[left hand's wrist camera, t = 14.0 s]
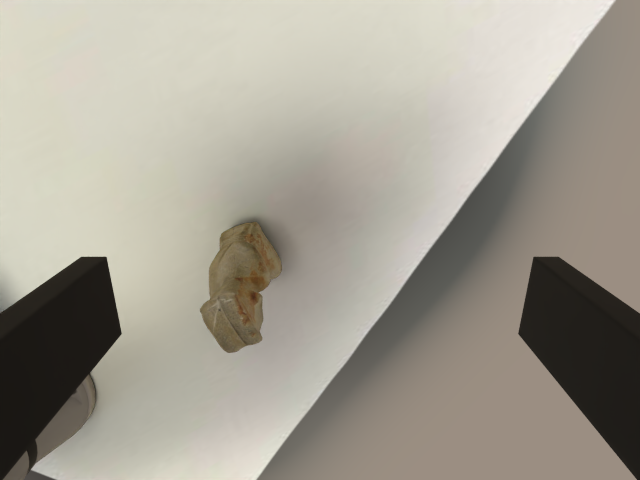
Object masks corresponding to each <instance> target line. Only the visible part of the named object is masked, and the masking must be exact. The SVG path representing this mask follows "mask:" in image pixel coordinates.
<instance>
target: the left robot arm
mask: <svg viewBox="0 0 640 480" xmlns="http://www.w3.org/2000/svg"><path fill="white" fill-rule="evenodd" d="M121 334H122V333H121V328H120V323H119V318H118V313H117V308H116V303H115V298H114V293H113V288H112V283H111V278H110V272H109V267H108V262H107V257H81V258H79V259H78V260H76V261H75V262H73V263H72V264H71V265H69V266H68V267H66V268H65V269H63V270H62V271H61V272H59V273H58V274H56V275H55V276H53V277H52V278H50V279H49V280H48V281H46V282H45V283H43V284H42V285H40V286H39V287H38V288H36V289H35V290H33V291H32V292H30V293H29V294H28V295H26V296H25V297H23V298H22V299H20V300H19V301H18V302H16V303H15V304H13V305H12V306H10V307H9V308H8V309H6V310H5V311H3V312H2V313H0V480H23V479H24V478H25V476H26V475H27V474H28V472H29V471H30V470H31V468H32V467H33V466H34V465H35V463H37V462H38V461H39V460H41V459H42V458H43V457H45V456H46V455H47V454H49V453H50V452H51V451H53V450H54V449H55V448H57V447H58V446H59V445H61V444H62V443H64V442H65V441H66V440H68V439H69V438H70V437H72V436H73V435H74V434H75V433H76V432H77V431H78V430H79V429H80V428H81V427H82V426H83V425H84V423H85V422H86V420H87V419H88V418H89V416H90V415H91V413H92V411H93V408H94V405H95V388H94V384H93V382H92V379H91V377H90V375H89V373H90V372H91V371H92V370H93V368H94V367H95V366H96V365H97V363H98V362H99V361H100V360H101V359H102V357H103V356H104V355H105V354H106V352H107V351H108V350H109V349H110V348H111V346H112V345H113V344H114V343H115V341H116V340H117V339H118V338H119V336H120V335H121ZM518 334H519V335H520V336H521V338H522V339H523V340H524V341H525V343H526V344H527V345H528V346H529V347H530V349H531V350H532V351H533V352H534V354H535V355H536V356H537V357H538V359H539V360H540V361H541V362H542V363H543V365H544V366H545V367H546V368H547V370H548V371H549V372H550V373H551V374H552V376H553V377H554V378H555V379H556V381H557V382H558V383H559V384H560V386H561V387H562V388H563V389H564V390H565V392H566V393H567V394H568V395H569V397H570V398H571V399H572V400H573V402H574V403H575V404H576V405H577V406H578V408H579V409H580V410H581V411H582V413H583V414H584V415H585V416H586V417H587V419H588V420H589V421H590V422H591V424H592V425H593V426H594V427H595V429H596V430H597V431H598V432H599V433H600V435H601V436H602V437H603V438H604V440H605V441H606V442H607V443H608V444H609V446H610V447H611V448H612V449H613V451H614V452H615V453H616V454H617V456H618V457H619V458H620V459H621V460H622V462H623V463H624V464H625V465H626V467H627V468H628V469H629V470H630V472H631V473H632V474H633V475H634V476H635V478H636V479H637V480H640V313H638V312H637V311H635V310H634V309H632V308H631V307H630V306H628V305H627V304H625V303H624V302H622V301H621V300H620V299H618V298H617V297H615V296H614V295H612V294H611V293H610V292H608V291H607V290H605V289H604V288H602V287H601V286H600V285H598V284H597V283H595V282H594V281H592V280H591V279H590V278H588V277H587V276H585V275H584V274H582V273H581V272H579V271H578V270H577V269H575V268H574V267H572V266H571V265H569V264H568V263H567V262H565V261H564V260H562V259H561V258H559V257H534V258H533V263H532V267H531V272H530V278H529V283H528V288H527V293H526V298H525V303H524V308H523V313H522V318H521V323H520V328H519V333H518Z"/></svg>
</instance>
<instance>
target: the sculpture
mask: <svg viewBox="0 0 640 480" xmlns="http://www.w3.org/2000/svg"><path fill="white" fill-rule="evenodd" d="M281 270H282V265H281V261H280V258H279V256H278V255H277V253H276V251H275V250H274V248H273V247H272V245H271V244H270V242H269V241H268V240H267V238H266V237H265V235H264V234H263V232H262V230H261V227H260V225H259V224H258V223H257V222H252V223H244V224H241V225H238V226H236V227H233V228H231V229H229V230H227V231H225V232H223V233H222V234H221V237H220V251H219V252H218V254H217V255H216V257H215V258H214V260H213V262H212V263H211V265H210V268H209V291H210V300H209V301H207V302H206V303H204V304H203V306H202V307H201V309H200V312H201V314H202V317H203V320H204V322H205V324H206V326H207V328H208V329H209V331H210V332H211V333H212V335H213V336H214V337H215V339H216V340H217V342H218V343H219V345H220V347H221V348H222V349H223V350H225V351H226V352H227V353H232V352H237V351H238V350H240V349H241V348H243V347H245V346H248V345H253V344H256V343H259V342H260V341H262V336H261V334H260V329H261V324H262V322H263V312H262V295H261V294H259V292H260V291H262V290H264V289H265V288H266V287H267V286H268V285H269V283H270V280H271V279H274V278H276V277H278V276H279V275H280V273H281Z"/></svg>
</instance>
